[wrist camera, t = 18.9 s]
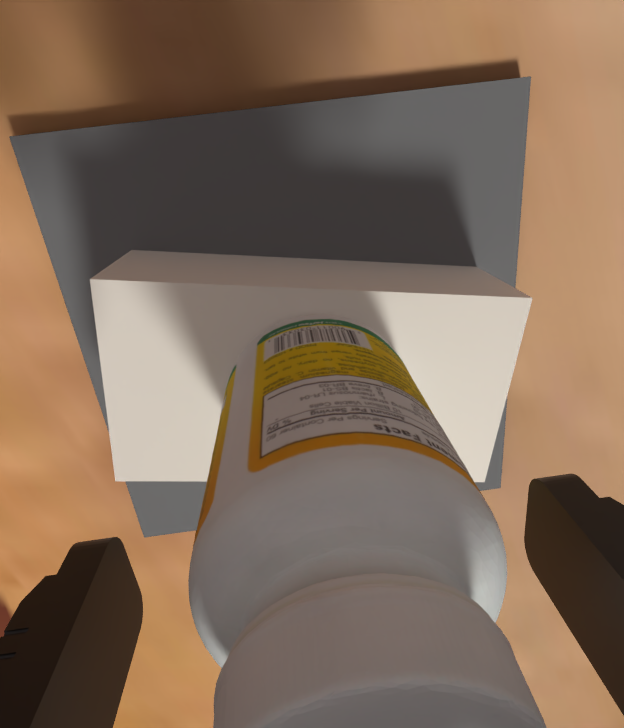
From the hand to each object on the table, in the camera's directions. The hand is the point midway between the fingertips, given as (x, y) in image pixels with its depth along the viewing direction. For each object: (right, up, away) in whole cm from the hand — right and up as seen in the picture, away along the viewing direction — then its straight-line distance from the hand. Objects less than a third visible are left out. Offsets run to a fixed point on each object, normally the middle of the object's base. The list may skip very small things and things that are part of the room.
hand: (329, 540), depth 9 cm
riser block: (-1, +4, +8) cm, 9 cm away
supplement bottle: (0, +3, +5) cm, 6 cm away
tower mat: (-1, +4, +9) cm, 10 cm away
